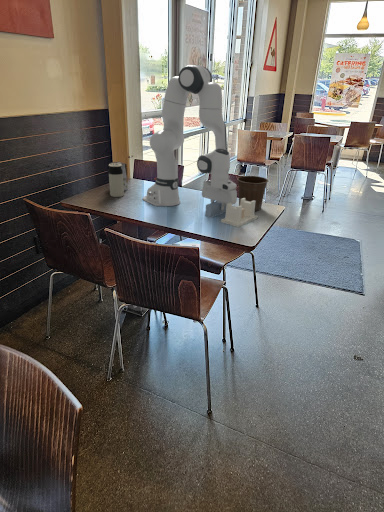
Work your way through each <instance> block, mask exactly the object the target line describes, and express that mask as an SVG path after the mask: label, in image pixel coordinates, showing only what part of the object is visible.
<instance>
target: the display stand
mask: <svg viewBox="0 0 384 512" xmlns="http://www.w3.org/2000/svg"><path fill="white" fill-rule="evenodd" d="M245 199H246V198H242V199H241V200H240V206H239V205H238V206H235V205H232V203H228V204H227V205H226V212H225V217H224V218H222V219H220V222H221V223H223V224H227V225H229V226H232V227H235V228H239V227H241V226H244V225H246V224H248V223H250V222H252V221H255V220H257V219H259V215H255V212H256V211H255V202H256V201H255V200H254V201H251V202H249V201H245Z"/></svg>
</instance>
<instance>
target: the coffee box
mask: <svg viewBox="0 0 384 512" xmlns="http://www.w3.org/2000/svg"><path fill="white" fill-rule="evenodd" d="M113 163H118V164H122V166H121V168H122V170H123V186H124V191H128V189H129V186H128V168H127V167H128V166H127V163H124V162H121V161H113V162H110V164H113Z"/></svg>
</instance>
